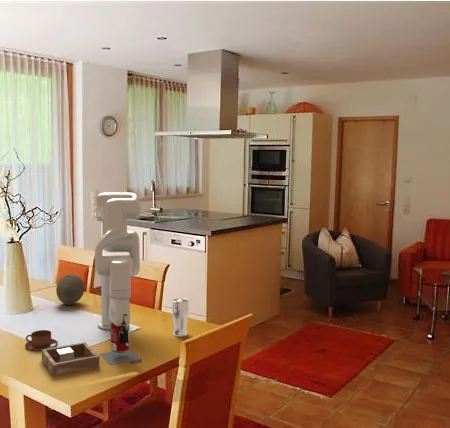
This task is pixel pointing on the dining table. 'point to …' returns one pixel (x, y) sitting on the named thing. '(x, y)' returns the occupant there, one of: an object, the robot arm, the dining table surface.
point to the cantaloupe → (70, 289)
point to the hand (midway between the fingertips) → (120, 339)
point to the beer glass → (180, 316)
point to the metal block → (64, 354)
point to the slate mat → (121, 357)
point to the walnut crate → (82, 360)
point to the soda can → (118, 340)
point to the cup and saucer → (40, 340)
